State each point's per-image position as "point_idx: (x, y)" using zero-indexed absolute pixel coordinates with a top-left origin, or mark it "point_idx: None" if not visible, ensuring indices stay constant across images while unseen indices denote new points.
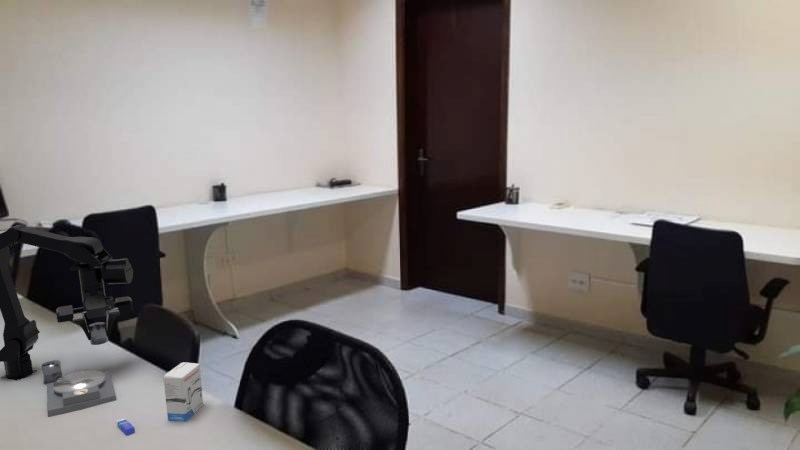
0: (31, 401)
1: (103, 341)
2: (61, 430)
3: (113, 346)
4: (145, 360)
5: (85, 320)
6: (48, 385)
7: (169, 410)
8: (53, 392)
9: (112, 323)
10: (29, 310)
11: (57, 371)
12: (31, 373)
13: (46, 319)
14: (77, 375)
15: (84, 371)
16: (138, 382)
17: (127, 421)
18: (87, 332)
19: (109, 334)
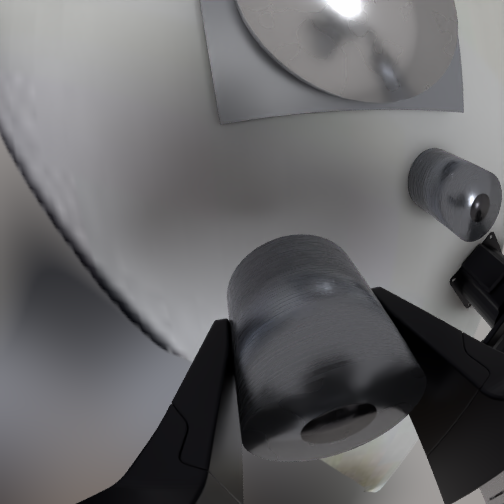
0: (476, 40)
1: (260, 259)
2: None
3: None
4: (87, 253)
5: (448, 450)
6: (459, 92)
7: None
8: None
9: (157, 429)
10: (371, 478)
11: (449, 167)
12: (467, 260)
13: (360, 468)
14: (380, 55)
15: (351, 91)
16: (85, 13)
17: None
18: (422, 328)
19: (209, 333)
